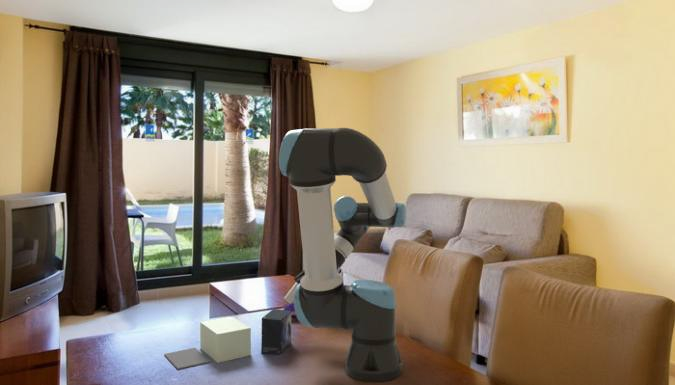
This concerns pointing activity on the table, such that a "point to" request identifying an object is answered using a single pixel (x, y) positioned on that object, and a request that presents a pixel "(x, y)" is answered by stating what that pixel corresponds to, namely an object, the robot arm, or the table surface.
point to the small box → (276, 331)
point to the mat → (186, 358)
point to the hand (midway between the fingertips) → (297, 305)
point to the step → (225, 339)
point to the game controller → (290, 307)
